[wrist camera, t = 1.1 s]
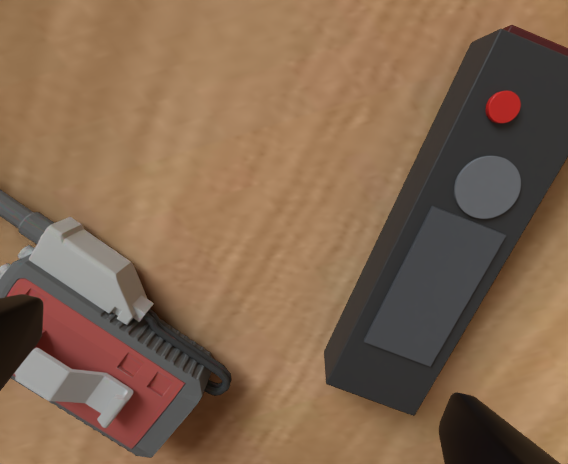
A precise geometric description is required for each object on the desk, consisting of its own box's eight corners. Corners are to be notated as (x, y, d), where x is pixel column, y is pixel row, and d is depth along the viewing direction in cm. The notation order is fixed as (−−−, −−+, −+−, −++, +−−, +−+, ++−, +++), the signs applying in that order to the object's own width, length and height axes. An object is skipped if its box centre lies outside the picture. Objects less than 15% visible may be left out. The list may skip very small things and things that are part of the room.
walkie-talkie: (259, 341, 22) (-61, 119, 20) (247, 394, 18) (-162, 119, 15) (176, 437, 24) (-119, 249, 22) (149, 504, 20) (-222, 280, 18)
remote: (401, 380, 22) (416, 421, 19) (323, 351, 22) (325, 388, 19) (574, 72, 17) (630, 62, 14) (476, 31, 17) (511, 12, 14)
